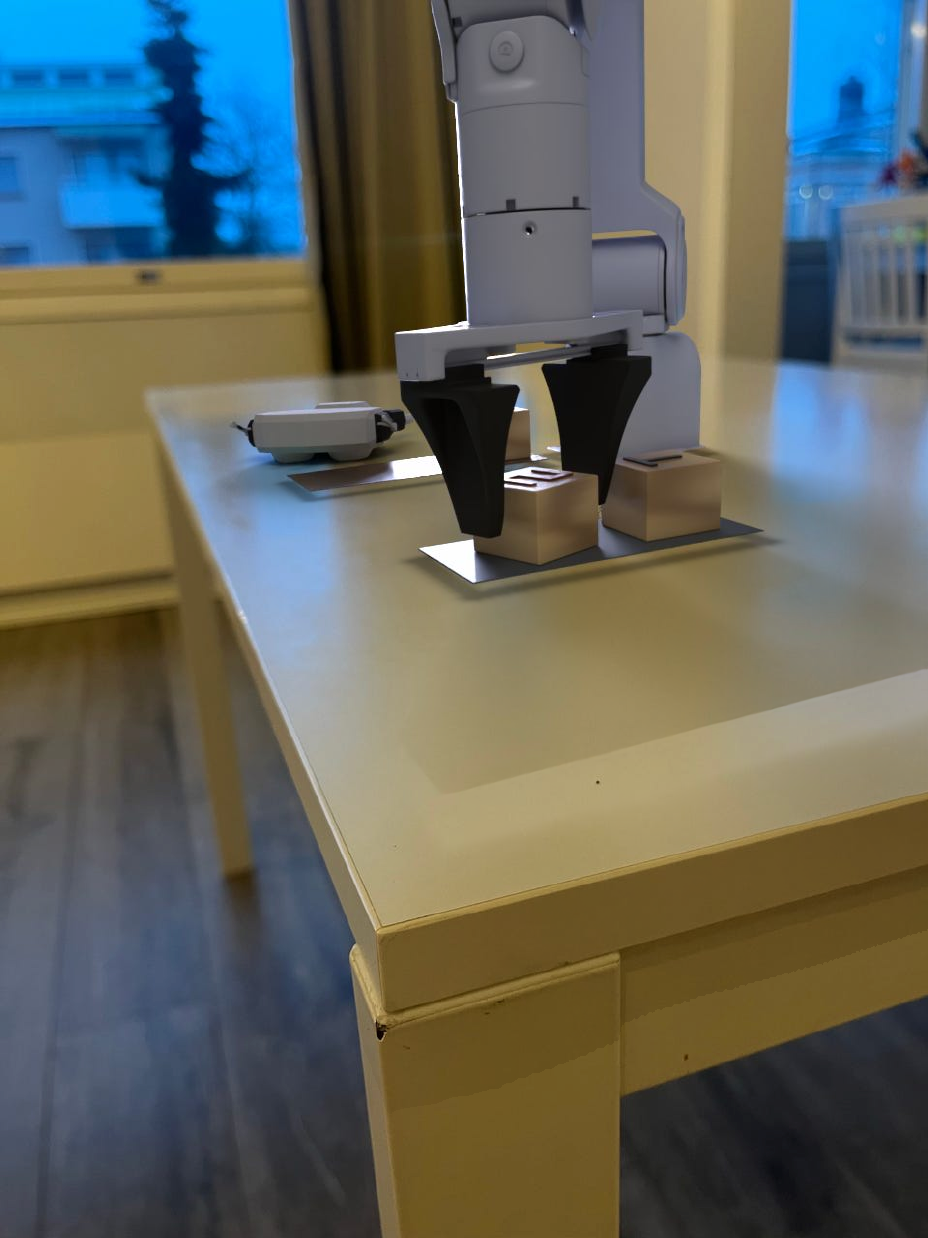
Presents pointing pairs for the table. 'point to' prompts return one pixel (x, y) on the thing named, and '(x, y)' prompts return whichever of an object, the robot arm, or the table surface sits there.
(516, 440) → the tile
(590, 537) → the tile
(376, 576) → the table surface
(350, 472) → the strip back
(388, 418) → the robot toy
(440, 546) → the strip front
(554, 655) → the table surface
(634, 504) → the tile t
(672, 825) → the table surface
